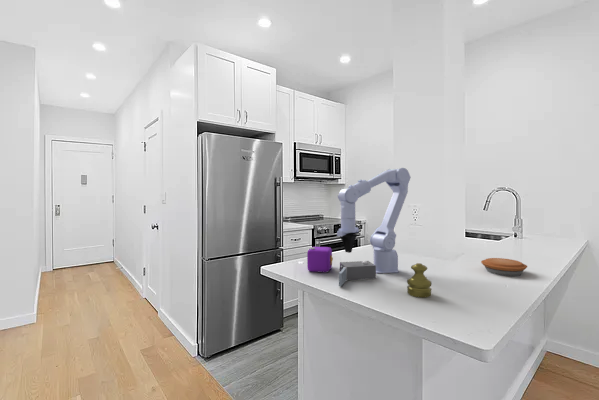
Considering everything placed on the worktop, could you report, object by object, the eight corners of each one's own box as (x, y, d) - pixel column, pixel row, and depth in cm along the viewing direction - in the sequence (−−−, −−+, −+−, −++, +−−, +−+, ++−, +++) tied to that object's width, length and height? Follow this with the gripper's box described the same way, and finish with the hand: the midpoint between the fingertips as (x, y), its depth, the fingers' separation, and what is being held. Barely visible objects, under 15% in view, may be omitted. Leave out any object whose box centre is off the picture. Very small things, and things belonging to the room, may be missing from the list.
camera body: (368, 272, 123) (368, 259, 123) (375, 278, 115) (375, 263, 115) (338, 274, 121) (338, 260, 121) (343, 280, 113) (343, 265, 113)
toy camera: (332, 265, 137) (332, 243, 137) (333, 273, 123) (332, 249, 123) (309, 265, 138) (308, 243, 138) (307, 273, 124) (306, 249, 124)
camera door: (341, 286, 105) (341, 273, 105) (338, 286, 105) (338, 272, 105) (347, 279, 113) (346, 267, 113) (343, 279, 113) (343, 266, 113)
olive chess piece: (429, 299, 92) (429, 267, 92) (404, 295, 96) (404, 264, 96) (433, 292, 99) (433, 262, 98) (409, 289, 102) (409, 260, 102)
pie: (527, 280, 111) (527, 267, 111) (478, 273, 120) (479, 261, 120) (527, 271, 123) (527, 259, 123) (483, 265, 132) (483, 254, 132)
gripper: (347, 216, 127) (348, 248, 128) (330, 219, 116) (330, 254, 116) (363, 217, 123) (363, 249, 124) (346, 220, 112) (346, 256, 112)
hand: (348, 252), depth 120 cm, fingers closed
